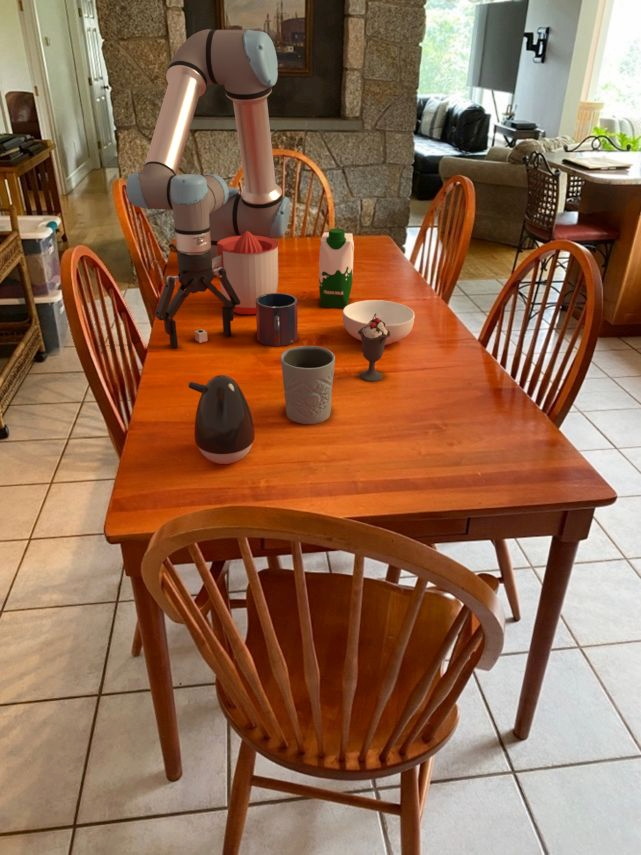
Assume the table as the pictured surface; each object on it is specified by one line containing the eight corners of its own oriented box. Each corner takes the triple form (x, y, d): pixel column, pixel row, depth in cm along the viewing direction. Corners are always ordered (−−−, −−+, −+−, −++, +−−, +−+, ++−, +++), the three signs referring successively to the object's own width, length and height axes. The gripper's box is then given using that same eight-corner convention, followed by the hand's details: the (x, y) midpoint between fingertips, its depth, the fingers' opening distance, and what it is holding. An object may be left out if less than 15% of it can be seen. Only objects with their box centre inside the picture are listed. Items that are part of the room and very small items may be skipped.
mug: (257, 330, 163) (256, 292, 158) (296, 329, 163) (296, 292, 158) (256, 353, 151) (254, 313, 146) (298, 352, 152) (298, 313, 147)
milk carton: (317, 308, 176) (318, 232, 165) (320, 296, 183) (321, 223, 173) (350, 310, 175) (353, 233, 165) (352, 298, 183) (355, 224, 172)
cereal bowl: (426, 339, 159) (429, 311, 156) (383, 360, 149) (385, 331, 145) (371, 320, 169) (373, 293, 165) (327, 339, 159) (327, 311, 155)
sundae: (366, 385, 138) (370, 318, 131) (350, 372, 143) (353, 307, 136) (392, 379, 141) (398, 313, 133) (376, 367, 146) (380, 302, 138)
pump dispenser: (197, 440, 119) (190, 364, 111) (255, 438, 120) (252, 362, 112) (192, 473, 111) (184, 392, 103) (255, 471, 111) (252, 391, 104)
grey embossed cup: (315, 431, 122) (316, 373, 116) (270, 416, 127) (269, 359, 121) (343, 409, 130) (345, 353, 124) (300, 395, 134) (300, 340, 128)
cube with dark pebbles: (195, 340, 157) (194, 330, 156) (203, 338, 158) (202, 328, 157) (199, 343, 155) (199, 333, 154) (207, 340, 157) (207, 330, 155)
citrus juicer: (209, 301, 179) (203, 225, 169) (271, 294, 184) (269, 221, 173) (220, 322, 166) (214, 242, 156) (286, 315, 171) (286, 237, 161)
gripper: (145, 263, 137) (156, 357, 148) (252, 246, 149) (255, 334, 160) (132, 254, 142) (144, 345, 153) (237, 238, 154) (241, 324, 165)
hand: (201, 340), depth 157 cm, fingers open, 13 cm apart
